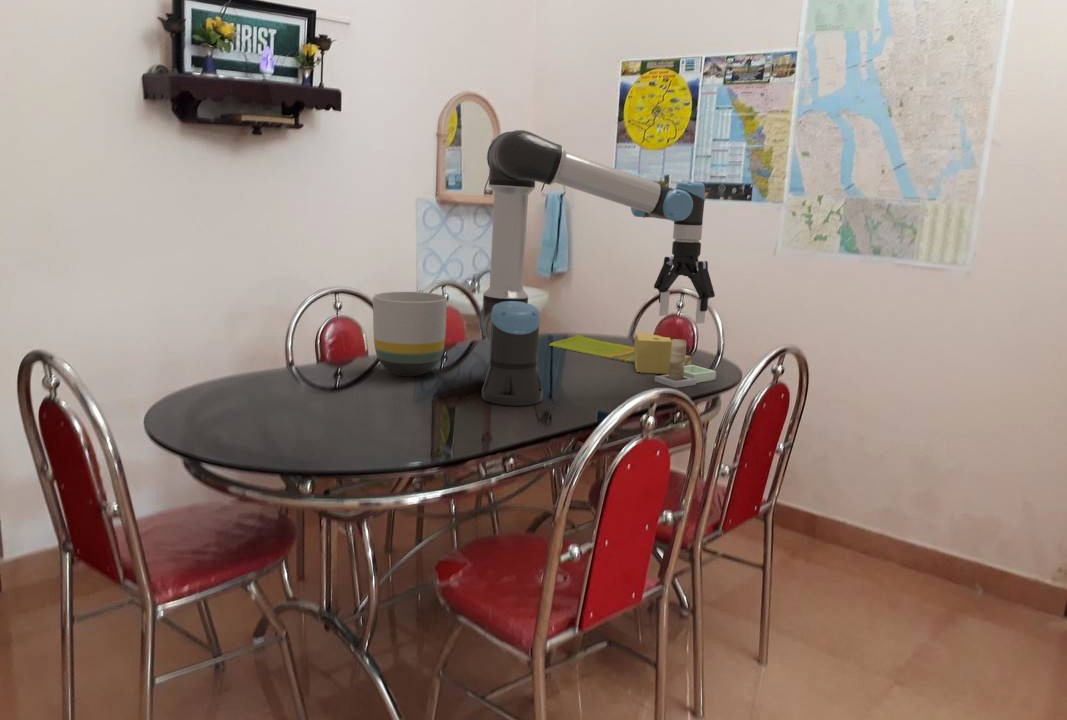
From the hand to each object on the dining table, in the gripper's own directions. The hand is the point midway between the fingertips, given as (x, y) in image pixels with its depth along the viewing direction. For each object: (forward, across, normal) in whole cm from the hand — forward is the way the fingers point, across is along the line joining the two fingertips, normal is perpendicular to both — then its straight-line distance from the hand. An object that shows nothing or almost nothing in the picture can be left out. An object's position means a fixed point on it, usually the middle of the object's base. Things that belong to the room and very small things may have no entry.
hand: (681, 319), depth 228 cm
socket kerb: (+18, 0, 0) cm, 18 cm away
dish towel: (+19, +41, -9) cm, 46 cm away
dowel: (+18, 0, 0) cm, 18 cm away
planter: (+17, +41, +61) cm, 76 cm away
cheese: (+18, +15, -5) cm, 24 cm away
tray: (+18, +2, -9) cm, 20 cm away
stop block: (+18, +15, -15) cm, 28 cm away
